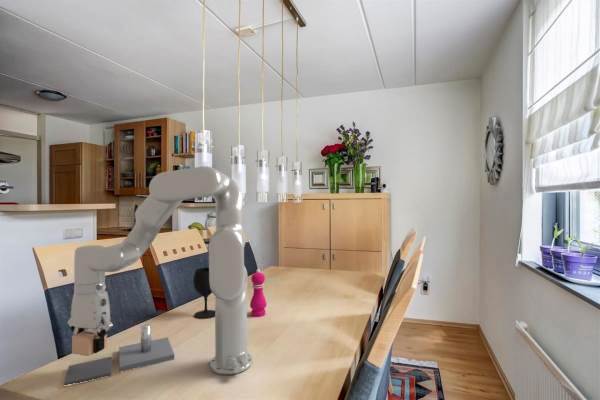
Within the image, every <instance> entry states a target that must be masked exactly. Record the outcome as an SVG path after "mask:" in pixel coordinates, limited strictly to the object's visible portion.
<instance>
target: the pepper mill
mask: <svg viewBox="0 0 600 400" xmlns="http://www.w3.org/2000/svg"><path fill="white" fill-rule="evenodd" d="M250 280H251V282H252V289H253V294H252V297H251V300H250V303H249V308H251V310H250V316H252V317H255V318H256V317H257V318H260V317H264V316H265V315H266V307H267V300H266V297H265V296H264V290H263V289H264V286H265V284H264V283H265V280H266V276H265V274H264V273H262V272H261V270H260V269H259V268H257V269H256V271H255V272H254V273H253V274H252V275H251V279H250Z"/></svg>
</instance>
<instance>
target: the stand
mask: <svg viewBox="0 0 600 400" xmlns="http://www.w3.org/2000/svg"><path fill="white" fill-rule="evenodd" d="M118 356H119V357H118V359H119V361H118V363H119V364H118V365H119V372H120V371H123V372H126V371H125V370H127V371H130V370H129V369H131V370H134V369H133V368H136V369H139V368H138V367H140V368H144V367H147V365H148V366H151V365H156V364H159V363H164V362H168V361H173V360H175V353H174V350H173V348H172V345H171V342H170V340H169V337H163V338H162V337H161V338H158V339H153V340H152V339H151V351H149V352H147V353H141V342H138V343H134V344H133V343H132V344H129V345H122V346H119V347H118ZM143 366H144V367H143Z"/></svg>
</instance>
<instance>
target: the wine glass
mask: <svg viewBox="0 0 600 400" xmlns="http://www.w3.org/2000/svg"><path fill="white" fill-rule="evenodd" d="M192 282H193V286H194V289H195V291H196V292H197V293H198V294H199V295H201V296H202V298H204V310H200V311H196V312H195V313H193V318H195V319H199V320H207V319H212V318H215V309H214V310H213V309H208V297H209V296H210V295H211V294H213V293H212V291H211V288H210V283H209V267H201V268H197V269H195V271H194V275H193V281H192Z"/></svg>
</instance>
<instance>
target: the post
mask: <svg viewBox="0 0 600 400" xmlns="http://www.w3.org/2000/svg"><path fill="white" fill-rule="evenodd" d="M151 341H152V324H150V323H146V324H142V325H141V326H140V343H141V353H147V352H149V351H151Z"/></svg>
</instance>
